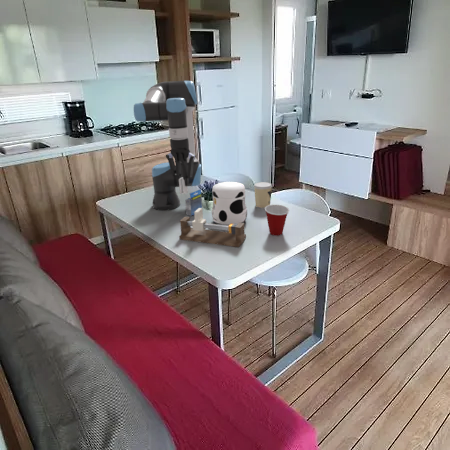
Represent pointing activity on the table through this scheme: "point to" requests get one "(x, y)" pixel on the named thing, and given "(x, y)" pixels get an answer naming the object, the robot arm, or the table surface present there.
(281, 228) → the plastic cup
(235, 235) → the wooden rail holder
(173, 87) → the robot arm
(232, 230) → the metal rail
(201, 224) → the cream stepped block
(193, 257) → the table surface
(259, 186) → the coffee cup
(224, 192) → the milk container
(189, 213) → the label tape box
